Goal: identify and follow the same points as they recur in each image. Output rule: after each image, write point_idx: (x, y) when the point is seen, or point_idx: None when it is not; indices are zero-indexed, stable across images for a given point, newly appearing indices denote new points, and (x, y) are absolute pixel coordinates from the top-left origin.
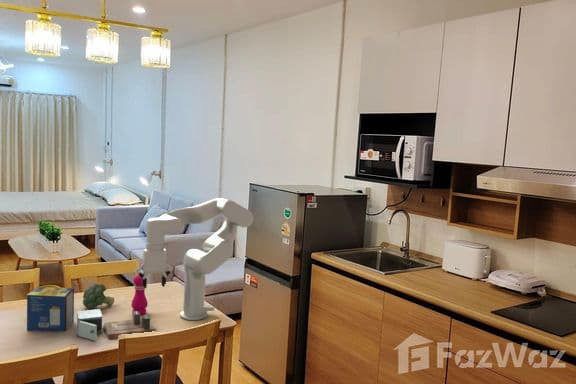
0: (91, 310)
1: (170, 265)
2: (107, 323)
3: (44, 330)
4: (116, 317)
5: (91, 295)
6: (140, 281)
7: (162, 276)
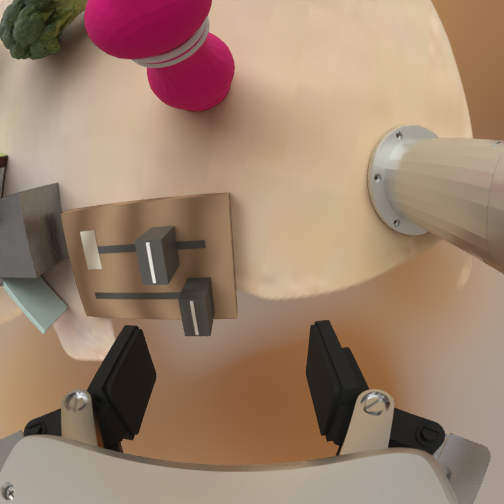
0: (2, 204)
1: (466, 502)
2: (69, 223)
3: None
4: (106, 115)
5: (11, 49)
6: (129, 51)
7: (339, 405)
